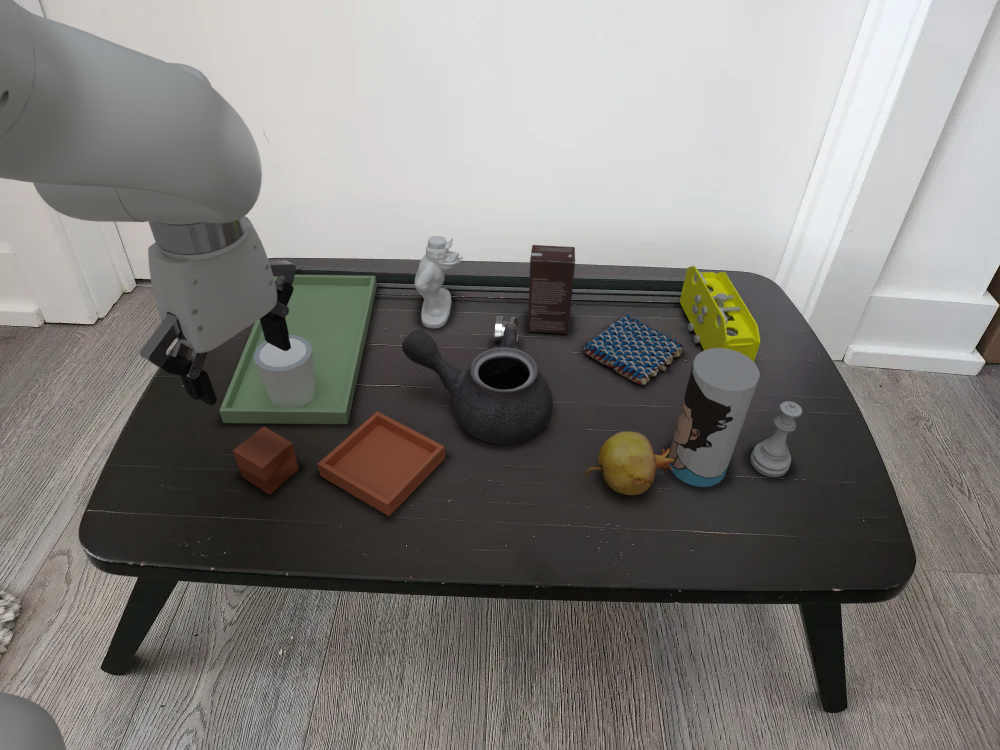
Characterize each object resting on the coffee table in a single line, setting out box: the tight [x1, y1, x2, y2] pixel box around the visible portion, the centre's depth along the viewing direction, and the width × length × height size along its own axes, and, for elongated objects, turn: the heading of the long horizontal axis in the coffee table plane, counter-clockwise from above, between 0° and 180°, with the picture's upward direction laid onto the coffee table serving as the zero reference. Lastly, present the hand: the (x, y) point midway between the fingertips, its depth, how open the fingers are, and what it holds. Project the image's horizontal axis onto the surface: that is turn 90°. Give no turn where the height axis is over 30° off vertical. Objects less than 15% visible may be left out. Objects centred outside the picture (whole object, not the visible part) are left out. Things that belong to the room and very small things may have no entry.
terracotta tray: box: [317, 410, 446, 517], centre depth 83 cm, size 10×10×2 cm
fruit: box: [584, 430, 675, 496], centre depth 80 cm, size 7×7×10 cm
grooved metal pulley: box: [493, 315, 519, 348], centre depth 98 cm, size 5×3×5 cm, turn 175°
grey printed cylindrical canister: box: [667, 348, 761, 488], centre depth 80 cm, size 7×7×15 cm
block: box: [232, 426, 300, 495], centre depth 81 cm, size 4×4×4 cm
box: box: [527, 244, 576, 335], centre depth 100 cm, size 6×4×12 cm
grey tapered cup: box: [253, 335, 315, 409], centre depth 89 cm, size 7×7×7 cm
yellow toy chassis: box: [679, 265, 761, 363], centre depth 100 cm, size 16×6×8 cm, turn 7°
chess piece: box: [749, 400, 803, 478], centre depth 82 cm, size 4×4×10 cm
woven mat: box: [583, 314, 684, 386], centre depth 99 cm, size 10×11×2 cm
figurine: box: [414, 235, 464, 329], centre depth 102 cm, size 9×7×12 cm
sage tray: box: [219, 274, 378, 425], centre depth 99 cm, size 29×15×2 cm, turn 0°
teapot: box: [401, 324, 554, 444], centre depth 88 cm, size 19×15×10 cm
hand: (242, 370), depth 73 cm, fingers open, 9 cm apart
